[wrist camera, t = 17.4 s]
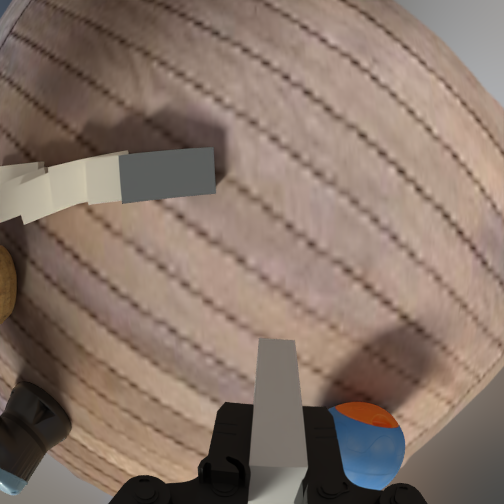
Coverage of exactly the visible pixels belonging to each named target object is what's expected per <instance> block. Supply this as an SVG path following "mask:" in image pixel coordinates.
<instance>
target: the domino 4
mask: <svg viewBox="0 0 504 504" xmlns="http://www.w3.org/2000/svg"><path fill="white" fill-rule="evenodd" d="M124 154H129V151H128V150H126V151H120V152H115V153H110V154H105V155H100V156H95V157H90V158H85V159H91V158H99V157H107V156H115V155H124ZM85 159H81V160H76V161H72V162H68V163H63V164H59V165H55V166H51V167H48V173H49V181H50V188H51V195H52V201H53V208H54V209H57V208H61V207H65V206H70V205H74V204H79V203H84V202H88V195H87V182H86V166H85Z"/></svg>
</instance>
